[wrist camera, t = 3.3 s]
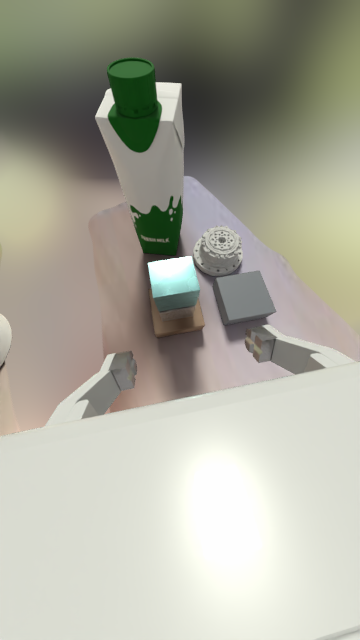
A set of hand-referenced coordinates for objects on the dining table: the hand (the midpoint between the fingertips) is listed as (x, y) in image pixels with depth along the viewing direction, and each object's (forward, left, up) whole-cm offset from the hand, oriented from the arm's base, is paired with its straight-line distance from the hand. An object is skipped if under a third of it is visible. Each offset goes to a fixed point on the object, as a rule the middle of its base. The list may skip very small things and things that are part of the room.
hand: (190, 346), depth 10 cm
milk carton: (0, +25, -15) cm, 29 cm away
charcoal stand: (+12, +8, -15) cm, 21 cm away
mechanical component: (+11, +19, -15) cm, 27 cm away
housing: (0, +8, -12) cm, 14 cm away
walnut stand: (0, +8, -15) cm, 17 cm away
